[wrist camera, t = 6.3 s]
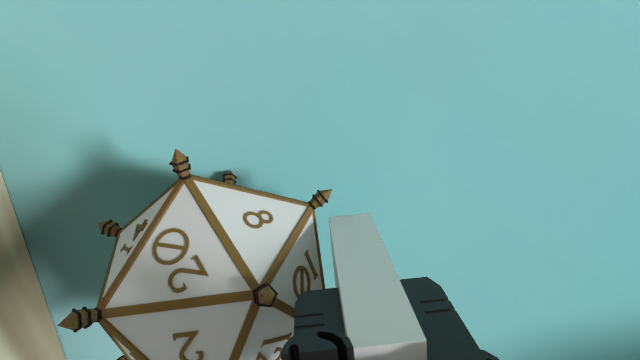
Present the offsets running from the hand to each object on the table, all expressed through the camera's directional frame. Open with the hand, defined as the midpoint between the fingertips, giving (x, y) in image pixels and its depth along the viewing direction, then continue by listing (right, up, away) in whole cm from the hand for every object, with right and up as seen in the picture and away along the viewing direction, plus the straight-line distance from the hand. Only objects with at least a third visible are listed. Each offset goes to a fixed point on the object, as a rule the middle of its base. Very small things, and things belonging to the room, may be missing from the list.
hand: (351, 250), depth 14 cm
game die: (-4, 0, +4) cm, 6 cm away
